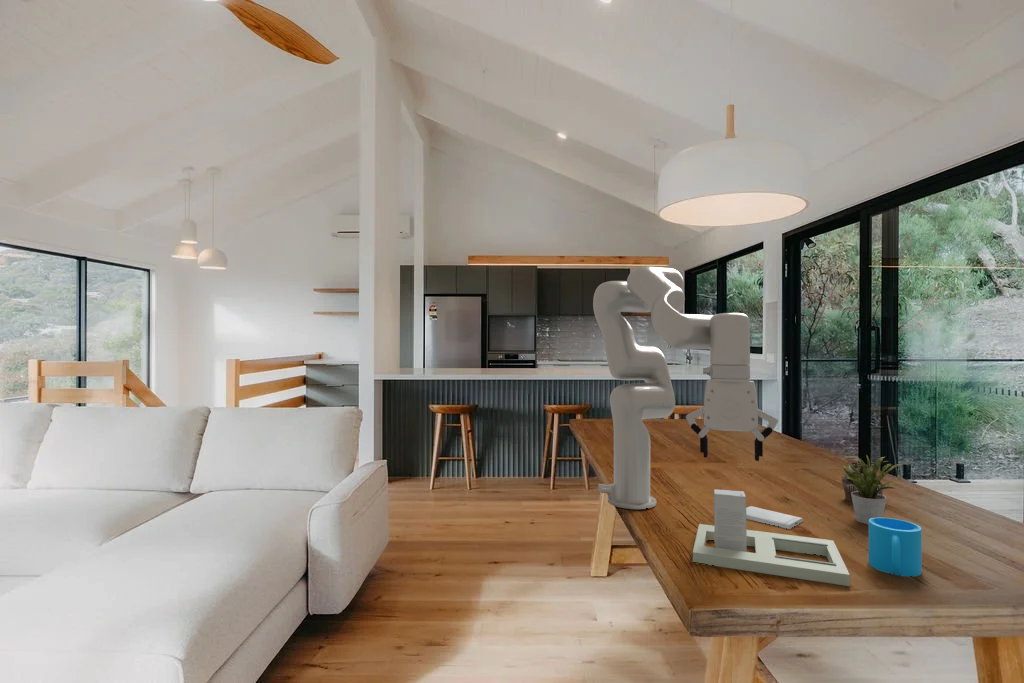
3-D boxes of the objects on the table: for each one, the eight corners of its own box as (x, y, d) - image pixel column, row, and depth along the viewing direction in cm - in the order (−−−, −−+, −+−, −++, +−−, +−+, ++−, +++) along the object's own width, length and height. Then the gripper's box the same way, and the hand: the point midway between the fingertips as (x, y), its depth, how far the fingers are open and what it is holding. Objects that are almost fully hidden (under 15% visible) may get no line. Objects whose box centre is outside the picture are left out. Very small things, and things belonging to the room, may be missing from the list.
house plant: (903, 517, 132) (903, 450, 132) (918, 535, 120) (918, 461, 120) (836, 509, 138) (835, 445, 138) (843, 525, 126) (843, 455, 126)
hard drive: (736, 512, 132) (789, 524, 123) (751, 505, 138) (803, 516, 129) (736, 518, 132) (789, 531, 123) (751, 512, 138) (803, 523, 129)
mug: (868, 555, 108) (868, 514, 108) (919, 565, 103) (919, 522, 103) (868, 577, 98) (868, 532, 98) (925, 588, 93) (925, 541, 93)
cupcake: (888, 507, 140) (888, 469, 140) (845, 503, 143) (845, 466, 143) (879, 498, 149) (878, 461, 149) (838, 494, 152) (838, 459, 152)
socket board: (692, 562, 104) (692, 551, 104) (699, 532, 121) (699, 522, 121) (849, 586, 94) (849, 573, 94) (833, 550, 110) (833, 539, 110)
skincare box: (745, 549, 111) (745, 491, 111) (746, 557, 107) (746, 496, 107) (713, 545, 113) (713, 488, 113) (714, 553, 109) (714, 493, 109)
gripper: (683, 374, 110) (684, 458, 110) (778, 375, 103) (779, 465, 103) (687, 372, 117) (687, 452, 116) (776, 373, 110) (777, 458, 110)
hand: (730, 458), depth 110 cm, fingers open, 9 cm apart
